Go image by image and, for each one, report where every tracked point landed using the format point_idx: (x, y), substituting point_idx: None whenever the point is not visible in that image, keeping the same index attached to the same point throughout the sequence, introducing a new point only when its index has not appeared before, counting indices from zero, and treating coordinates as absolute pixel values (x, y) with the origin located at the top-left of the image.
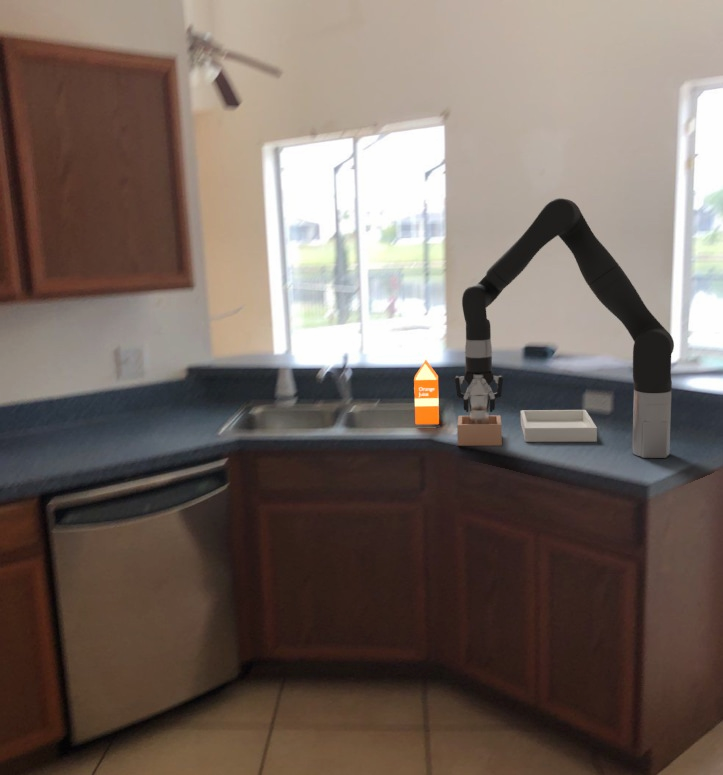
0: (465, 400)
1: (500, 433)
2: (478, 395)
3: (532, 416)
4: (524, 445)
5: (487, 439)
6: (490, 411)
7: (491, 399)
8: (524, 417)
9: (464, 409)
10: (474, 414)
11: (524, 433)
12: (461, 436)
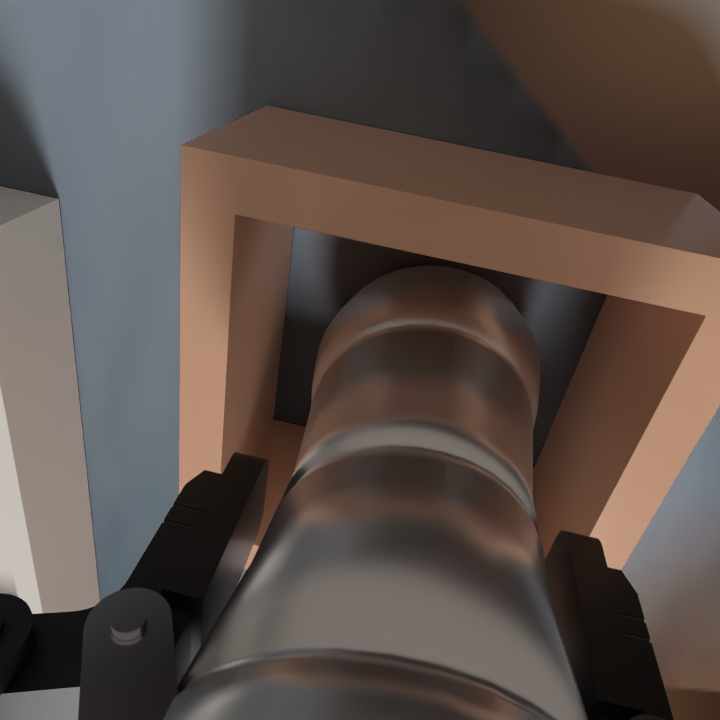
0: (637, 710)
1: (235, 128)
2: (427, 684)
3: None
4: (58, 65)
5: (393, 146)
6: (261, 458)
7: (174, 603)
8: (19, 564)
9: (622, 576)
10: (496, 445)
11: (38, 300)
12: (686, 212)
